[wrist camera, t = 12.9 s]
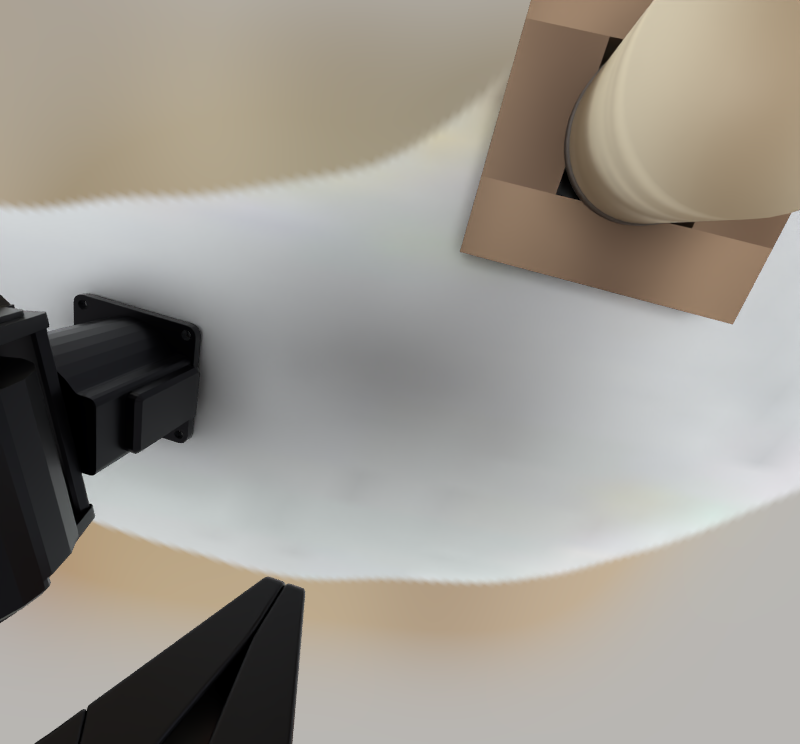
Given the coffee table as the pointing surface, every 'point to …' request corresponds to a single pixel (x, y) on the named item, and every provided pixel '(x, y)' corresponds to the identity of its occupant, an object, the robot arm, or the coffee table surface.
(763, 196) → the peg
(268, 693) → the robot arm
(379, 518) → the coffee table surface
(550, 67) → the brown square frame
